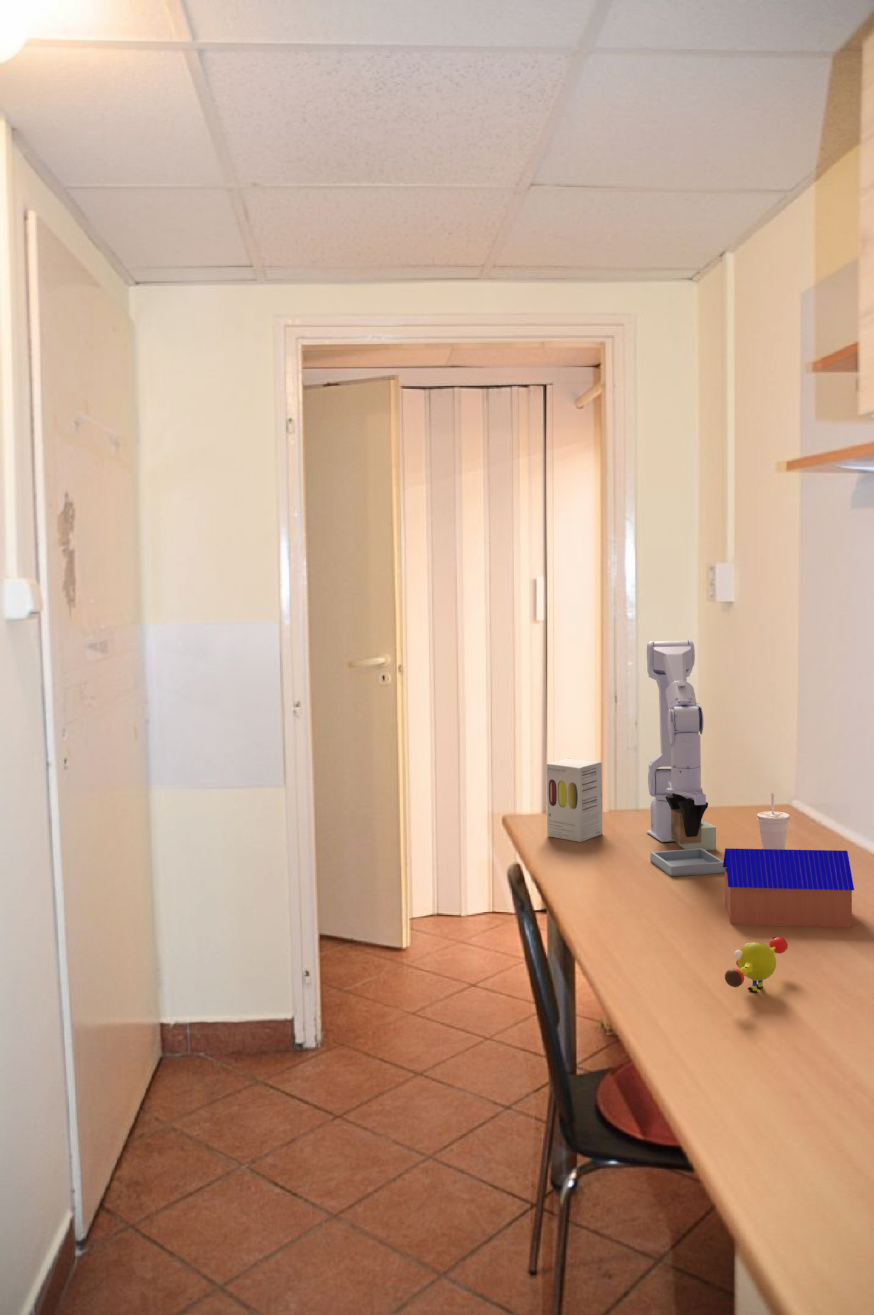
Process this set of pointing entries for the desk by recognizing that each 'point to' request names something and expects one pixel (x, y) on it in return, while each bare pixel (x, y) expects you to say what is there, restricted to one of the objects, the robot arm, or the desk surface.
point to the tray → (687, 862)
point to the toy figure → (755, 962)
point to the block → (681, 829)
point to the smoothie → (773, 827)
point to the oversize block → (704, 838)
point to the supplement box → (574, 799)
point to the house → (788, 887)
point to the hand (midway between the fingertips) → (686, 833)
